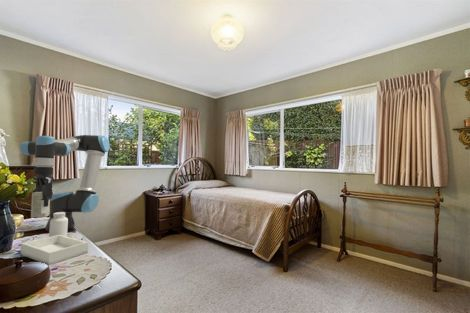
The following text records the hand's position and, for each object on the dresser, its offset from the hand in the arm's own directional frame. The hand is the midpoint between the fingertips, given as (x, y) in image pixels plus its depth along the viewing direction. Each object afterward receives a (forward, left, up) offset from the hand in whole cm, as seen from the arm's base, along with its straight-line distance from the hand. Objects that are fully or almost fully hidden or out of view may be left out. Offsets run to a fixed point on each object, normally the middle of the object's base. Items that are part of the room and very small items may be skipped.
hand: (40, 212), depth 117 cm
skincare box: (0, 0, -2) cm, 2 cm away
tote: (0, +15, -18) cm, 23 cm away
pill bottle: (-11, -4, -18) cm, 21 cm away
